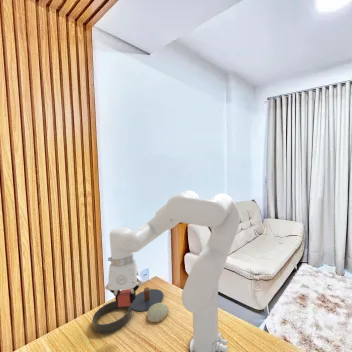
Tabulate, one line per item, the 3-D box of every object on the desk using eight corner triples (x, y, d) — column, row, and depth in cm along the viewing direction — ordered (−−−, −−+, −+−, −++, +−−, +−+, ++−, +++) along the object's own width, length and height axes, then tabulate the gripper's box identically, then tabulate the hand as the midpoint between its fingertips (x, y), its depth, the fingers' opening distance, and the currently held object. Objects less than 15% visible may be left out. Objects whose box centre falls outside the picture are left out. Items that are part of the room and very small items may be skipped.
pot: (138, 313, 96) (138, 304, 96) (110, 339, 83) (109, 329, 82) (116, 305, 101) (115, 297, 101) (85, 329, 88) (84, 319, 87)
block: (133, 298, 86) (133, 288, 86) (130, 305, 82) (129, 295, 82) (122, 299, 86) (121, 289, 85) (118, 307, 81) (117, 297, 81)
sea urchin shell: (163, 301, 101) (166, 296, 96) (168, 318, 98) (172, 314, 93) (143, 310, 96) (146, 305, 91) (148, 328, 92) (151, 325, 87)
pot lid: (169, 294, 109) (169, 283, 108) (147, 316, 94) (146, 303, 94) (147, 288, 114) (146, 277, 113) (123, 307, 100) (122, 295, 99)
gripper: (94, 266, 77) (99, 311, 79) (142, 262, 79) (145, 305, 81) (104, 256, 84) (108, 297, 86) (147, 252, 87) (150, 293, 89)
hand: (126, 301), depth 84 cm, fingers closed on block, 4 cm apart
